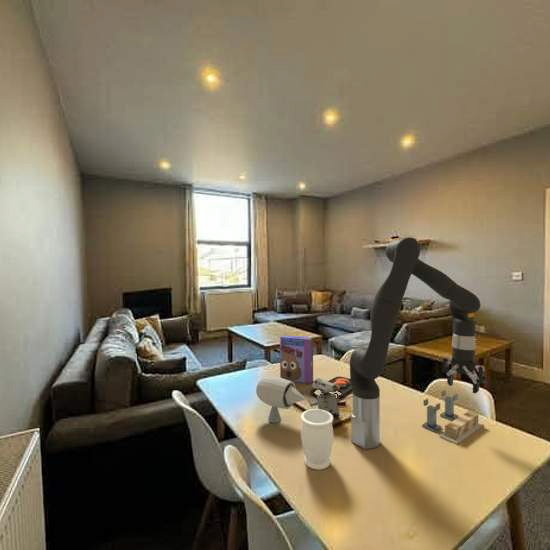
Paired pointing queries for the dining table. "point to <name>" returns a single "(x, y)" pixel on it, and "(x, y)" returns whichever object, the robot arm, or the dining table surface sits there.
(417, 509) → the dining table surface
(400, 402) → the dining table surface
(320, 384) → the figurine
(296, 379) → the cereal box
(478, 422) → the felt pad
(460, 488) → the dining table surface
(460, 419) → the rail
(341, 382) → the sushi plate
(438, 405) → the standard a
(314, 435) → the jar
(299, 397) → the jet engine
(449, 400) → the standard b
